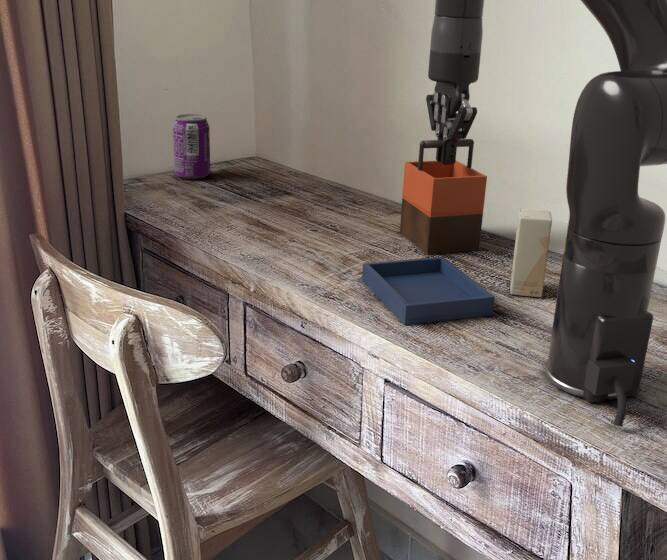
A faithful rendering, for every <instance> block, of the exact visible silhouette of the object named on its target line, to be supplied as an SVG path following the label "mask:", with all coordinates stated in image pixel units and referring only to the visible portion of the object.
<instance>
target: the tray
mask: <svg viewBox="0 0 667 560" xmlns="http://www.w3.org/2000/svg"><path fill="white" fill-rule="evenodd" d="M361 274H362V275H361V281H362V282H363V283H364V284H365V285H366V286H367V287H368V289H370V290H371V292H372V293H373V294H374V295H375V296H376V297H377V298H378V299H379V300H380V301H381V302H382V303H383V304H384V305H385V306H386V307H387V308H388V309H389V311H391V313H392V314H394V316H396V318H397V319H398V320H399V321H400V322H401V323H402V324H403V325H404V326H407V325H415V324H416V325H417V324H424V323H435V322H443V321H453V320H462V319H470V318H480V317H489V316H493V315H494V308H495V300H496V296H495V295H493V294H492V293H491V292H489V291H488V290H487V289H486V288H484V287H483V286H481V285H480V284H479V283H478V282H477V281H475V280H474V279H472V278H471V276H469V275H467V274H466V273H465V272H464V271H462V270H461V269H459V268H458V267H457V266H456V265H454V264H453V263H452V262H450V261H449V260H448V259H447V258H445V257H444V256H433V257H424V258H423V257H422V258H410V259H397V260H387V261H386V260H385V261H375V262H364V263H363V262H362V271H361Z"/></svg>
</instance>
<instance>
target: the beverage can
mask: <svg viewBox="0 0 667 560" xmlns="http://www.w3.org/2000/svg"><path fill="white" fill-rule="evenodd" d="M174 119H175V120H174V123H173V125H172V136H173V137H172V138H173V163H174V174H175V175H176V176H178V177H180V178H181V179H184V180H201V179H204V178H205V177H207V176H209V175H210V174H211V141H210V135H211V133H210V132H211V131H210V124H209V122H208V120H207V119H208V117H207V115H203V114H198V113H197V114H196V113H184V114H178V115H175V117H174Z"/></svg>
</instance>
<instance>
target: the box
mask: <svg viewBox="0 0 667 560" xmlns="http://www.w3.org/2000/svg"><path fill="white" fill-rule="evenodd" d="M552 225H553V217H552V212H551V211H548V210H540V209H533V208H531V209H530V208H520V209H519V208H518V217H517V225H516V233H515V241H514V242H515V243H514V249H513V258H512V267H511V274H510V283H509V286H510V287H509V288H510V290H509V291H510V295H514V296H523V297H533V298H542V297H543V291H544V283H545V276H546V269H547V261H548V254H549V248H550V247H549V246H550V238H551V232H552Z"/></svg>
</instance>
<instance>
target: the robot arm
mask: <svg viewBox="0 0 667 560" xmlns="http://www.w3.org/2000/svg"><path fill="white" fill-rule="evenodd" d="M434 2H435V5H434V16H433V23H432V26H431V34H430V45H429V46H430V47H429V59H428V70H427V71H428V73H427V78H428V80H430V81H432V82H435V86H434V90H433V91H434V92H433V94H426V97H425V102H426V107H427V113H428V119H429V124H430V130H431V131H432V132H435V134H434V135H435V137H436V138H437V139H436V140H443V141H442V148H436V151H435V153H436V154H435V161H438V162H441V163H442V164H444V165H453V164H455V162H456V161H457V150H458V147H457V141H459V140H460V139H467V136H468V134H469V132H470V130H471V127H472V125H473V123H474V121H475V119H476V118H477V117H476V116H477V114H478V108H477V107H476V106H472V105H470V104H471V103H469V102H470V99H471V96H470V95H471V94H470V85H471V84H474V83H476V82H478V80H479V76H480V75H479V74H480V64H481V56H482V44H483V34H484V33H483V31H484V30H483V17H484V7H485V0H435V1H434ZM580 2H581V3H582V4H583V6H585V8H586V9H587V10H588V11H589V12H590V14H591V15H592V16H593V17H594V19H595V20H596V21H597V23H598V24H599V25H600V26H601V28H602V29H603V31H604V32H605V34H606V35H607V37H608V39H609V41H610V43H611V45H612V48H613V51H614V53H615V56H616V59H617V62H618V66H619V70H615V71H606V72H602V73H599V74H597V75H596V76H593V78H591V79H590V80H589V81H588V82H587V83H586V84H585V86H584V87H583V89H582V90H581V92H580V94H579V96H578V99H577V101H576V105H575V109H574V112H573V117H572V123H571V130H570V131H571V132H570V141H569V154H568V167H567V174H566V186H565V187H566V189H565V191H566V192H565V193H566V201H567V205H568V211H569V212H568V213H569V214H568V223H567V228H566V236H565V241H564V248H563V255H562V260H561V261H562V263H561V269H560V275H559V281H558V288H557V295H556V301H555V309H554V316H553V322H552V327H551V328H552V329H551V334H550V341H549V342H550V343H549V350H548V358H547V361H546V364H545V368H544V369H545V370H544V374H545V377H546V378H547V380H548V381H549V382H550V383H551V384H552V386H554V387H556V388H557V389H559V390H561V391H563V392H565V393H568V394H570V395H572V396H573V395H574V396H576V397H579V398H582V399H584V400H585V401H587V402H588V403H599V402H604V401H611V400H617V410H616V414H615V418H614V422H613V425H614V426H617V427H623V424H624V421H625V418H626V414H627V398H630V397H631V398H632V397H636V396H639V392H640V387H641V381H642V377H643V373H644V366H645V361H646V356H647V351H648V347H649V342H650V336H651V331H652V326H653V323H654V314H653V313H652V312H650V311H649V310H648V309H649V306H650V300H651V294H652V289H653V284H654V278H655V273H656V269H657V264H658V258H659V255H660V250H661V245H662V244H661V243H662V239H663V234H664V230H665V224H666V214H665V211H664V209H663V208H662V207H661V206H660V205H659V204H657V203H655V202H654V201H652V200H649V199H646V198H644V197H640V195H639V181H640V170H641V167H650V166H659V165H660V166H661V165H667V0H580Z"/></svg>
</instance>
